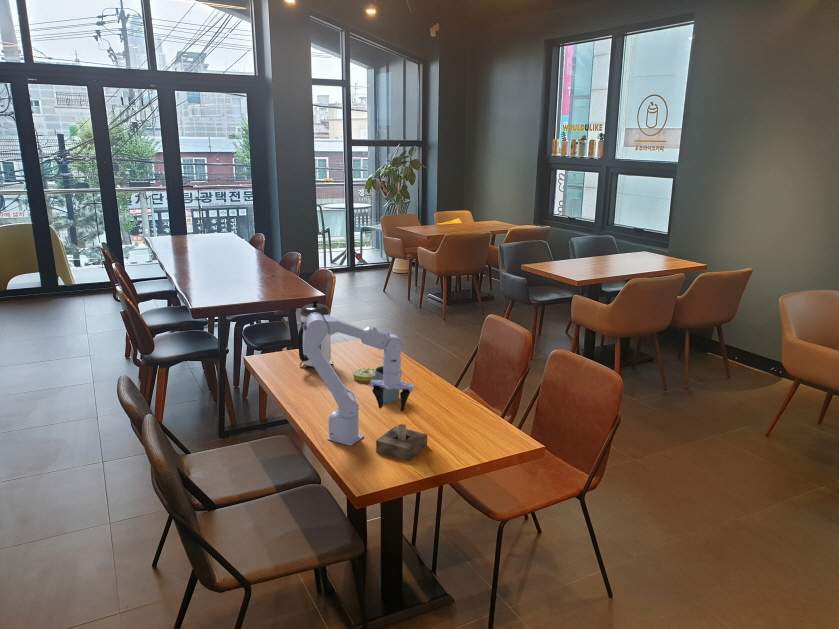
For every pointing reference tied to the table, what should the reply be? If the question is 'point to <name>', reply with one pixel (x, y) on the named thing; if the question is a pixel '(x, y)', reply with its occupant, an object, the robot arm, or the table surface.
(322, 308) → the coffee press
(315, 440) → the table surface
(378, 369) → the teal cup
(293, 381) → the table surface
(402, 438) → the dowel
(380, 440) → the square block with hole
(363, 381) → the decorated donut
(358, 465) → the table surface
